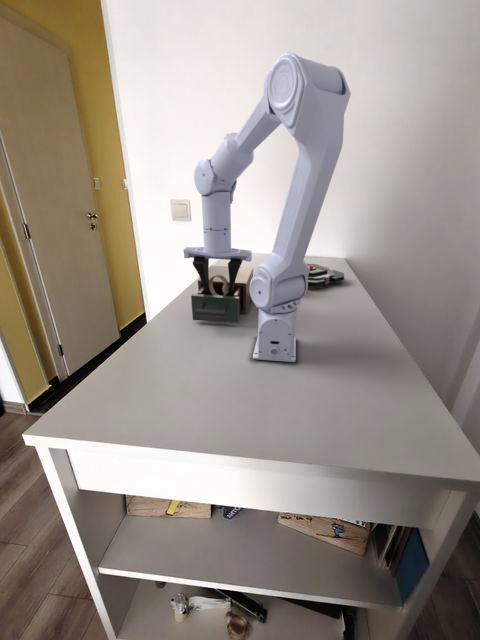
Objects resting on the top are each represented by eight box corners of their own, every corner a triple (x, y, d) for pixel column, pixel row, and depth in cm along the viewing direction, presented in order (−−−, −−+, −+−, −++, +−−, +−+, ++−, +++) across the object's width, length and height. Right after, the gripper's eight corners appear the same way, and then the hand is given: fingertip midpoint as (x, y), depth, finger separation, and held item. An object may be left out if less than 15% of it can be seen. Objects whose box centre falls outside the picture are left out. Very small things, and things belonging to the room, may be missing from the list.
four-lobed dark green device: (269, 276, 108) (270, 262, 106) (309, 269, 118) (311, 256, 116) (308, 292, 96) (309, 277, 94) (349, 282, 106) (351, 268, 103)
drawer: (235, 331, 70) (235, 306, 67) (187, 328, 71) (185, 302, 68) (246, 303, 85) (246, 281, 82) (206, 300, 86) (205, 278, 83)
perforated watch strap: (223, 300, 74) (223, 278, 72) (207, 296, 76) (205, 274, 74) (230, 297, 76) (230, 276, 74) (214, 293, 78) (213, 272, 76)
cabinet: (246, 313, 81) (246, 283, 77) (199, 310, 82) (197, 280, 78) (252, 294, 93) (253, 267, 89) (212, 292, 94) (210, 265, 90)
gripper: (253, 226, 72) (252, 287, 79) (188, 223, 73) (192, 283, 80) (249, 232, 66) (249, 297, 72) (178, 228, 67) (184, 293, 73)
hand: (219, 291), depth 76 cm, fingers closed on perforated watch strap, 5 cm apart
